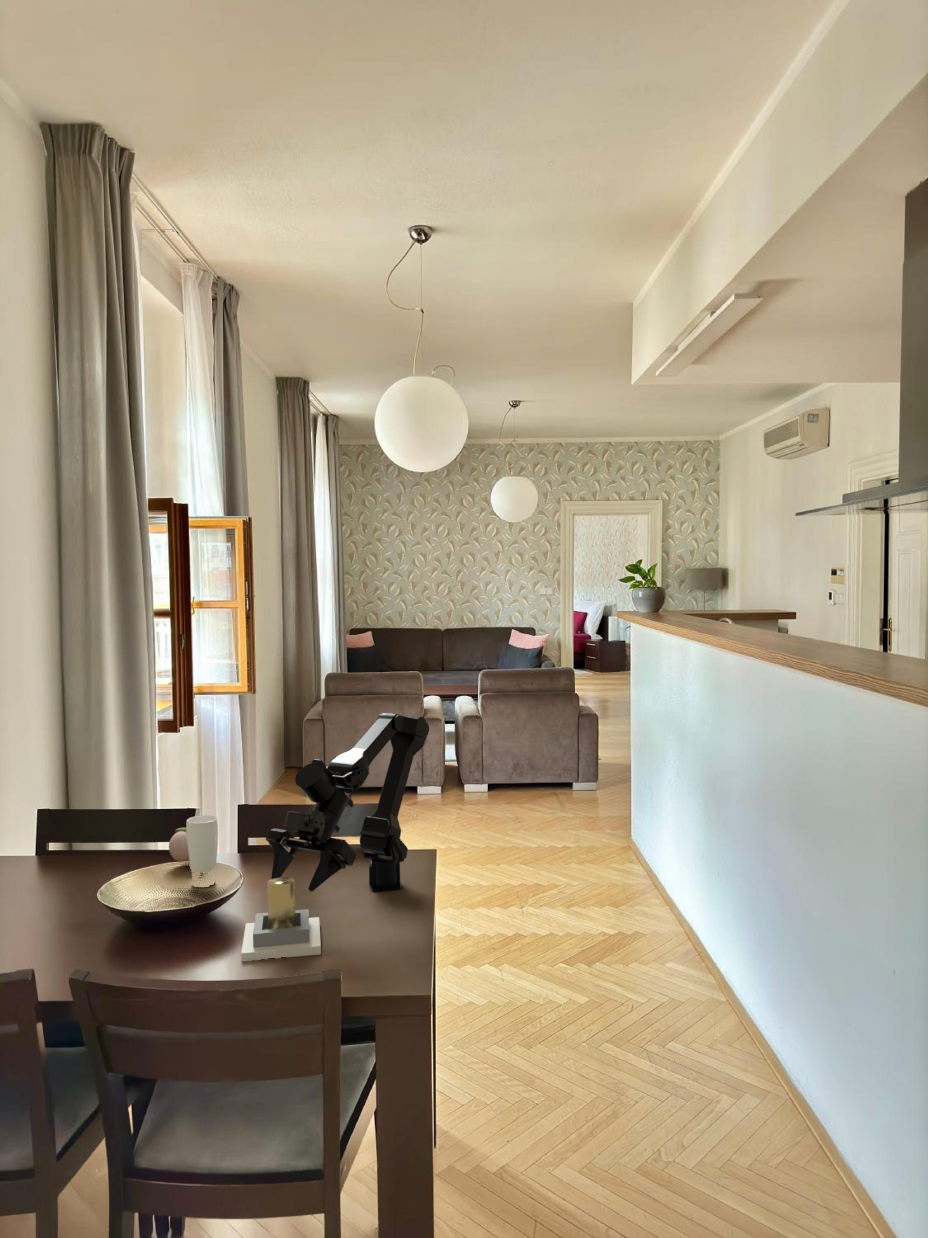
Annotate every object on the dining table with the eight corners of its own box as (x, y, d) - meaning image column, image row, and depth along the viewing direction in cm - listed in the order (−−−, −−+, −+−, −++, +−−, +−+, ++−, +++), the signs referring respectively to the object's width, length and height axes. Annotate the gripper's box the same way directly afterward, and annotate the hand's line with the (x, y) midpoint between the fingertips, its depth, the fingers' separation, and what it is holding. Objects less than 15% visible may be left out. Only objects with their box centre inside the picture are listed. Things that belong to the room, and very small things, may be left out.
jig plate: (319, 924, 170) (318, 904, 170) (320, 954, 157) (320, 932, 156) (246, 931, 168) (245, 910, 168) (241, 961, 154) (240, 939, 154)
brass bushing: (288, 926, 166) (287, 875, 165) (300, 935, 162) (298, 882, 161) (264, 933, 163) (262, 881, 162) (275, 942, 159) (273, 888, 158)
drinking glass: (200, 892, 189) (198, 824, 189) (181, 886, 194) (179, 820, 193) (225, 883, 195) (223, 817, 194) (207, 877, 199) (205, 813, 198)
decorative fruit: (161, 870, 205) (159, 828, 204) (183, 859, 212) (182, 819, 212) (193, 874, 202) (192, 832, 201) (215, 863, 209) (214, 822, 209)
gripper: (270, 788, 173) (232, 859, 164) (345, 798, 164) (309, 874, 154) (297, 817, 180) (262, 886, 171) (370, 828, 171) (337, 902, 162)
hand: (291, 886), depth 164 cm, fingers open, 9 cm apart
